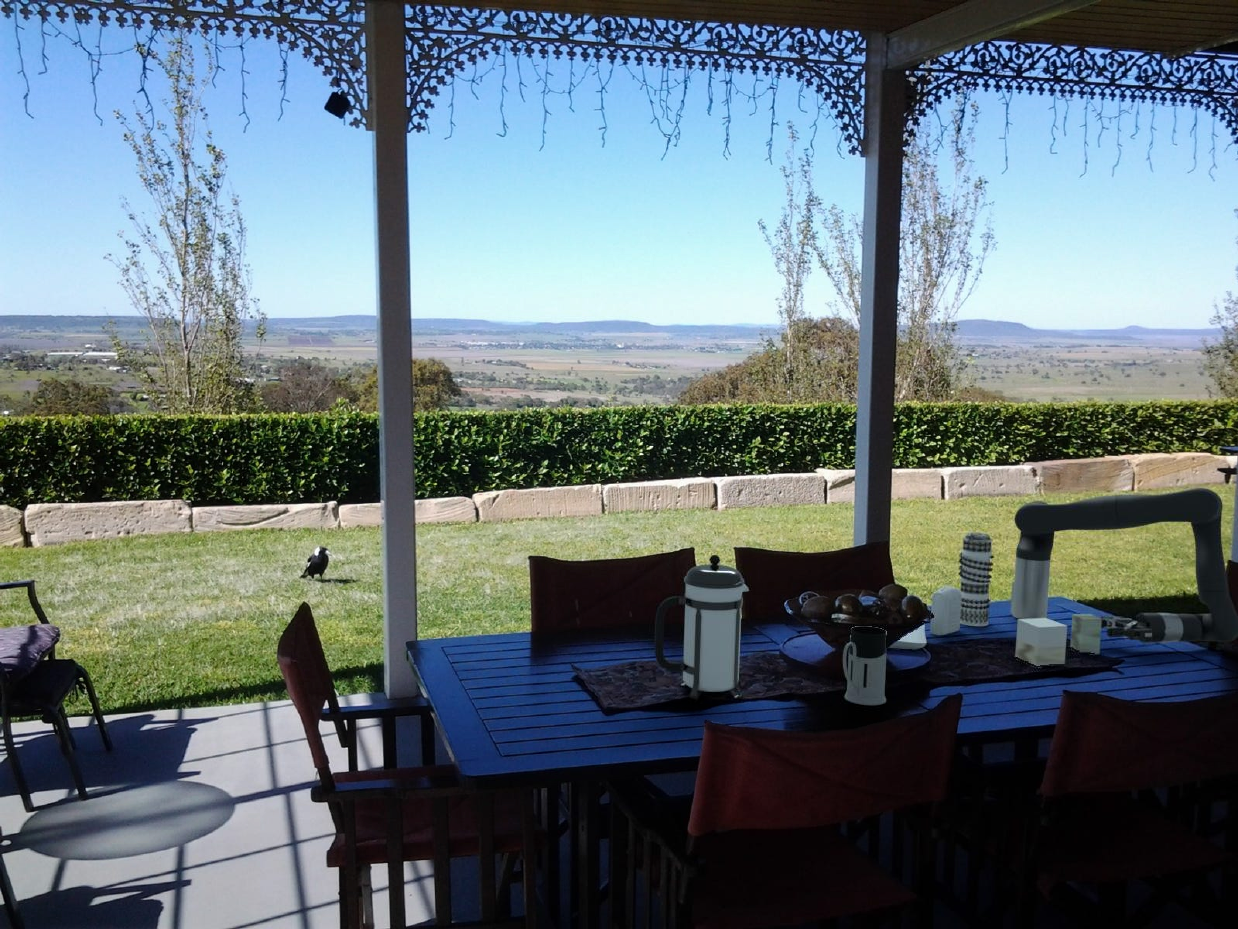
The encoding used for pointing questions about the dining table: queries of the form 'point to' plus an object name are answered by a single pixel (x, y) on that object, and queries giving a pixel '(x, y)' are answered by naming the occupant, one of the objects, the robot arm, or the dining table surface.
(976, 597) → the decorative candle
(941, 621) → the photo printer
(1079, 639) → the sage block
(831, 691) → the dining table surface
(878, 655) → the glass holder
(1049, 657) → the ash block
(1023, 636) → the grey block
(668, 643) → the dining table surface
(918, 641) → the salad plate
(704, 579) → the coffee press
